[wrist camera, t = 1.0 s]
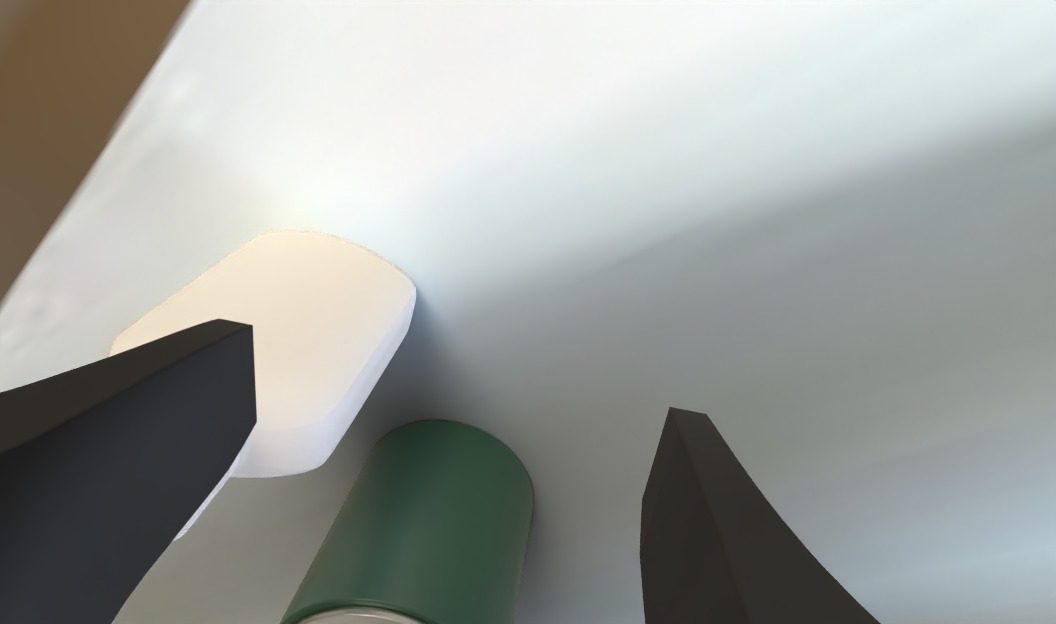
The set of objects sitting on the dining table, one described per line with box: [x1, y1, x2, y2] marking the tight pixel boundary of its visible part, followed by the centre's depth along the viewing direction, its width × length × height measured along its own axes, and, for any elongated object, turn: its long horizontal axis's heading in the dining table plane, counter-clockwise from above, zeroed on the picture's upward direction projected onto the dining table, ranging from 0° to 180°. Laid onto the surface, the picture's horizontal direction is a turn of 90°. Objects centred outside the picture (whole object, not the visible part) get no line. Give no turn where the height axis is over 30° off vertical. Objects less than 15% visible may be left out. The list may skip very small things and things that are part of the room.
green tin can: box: [280, 420, 534, 624], centre depth 22 cm, size 7×7×8 cm
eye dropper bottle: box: [107, 230, 416, 541], centre depth 17 cm, size 4×6×12 cm
